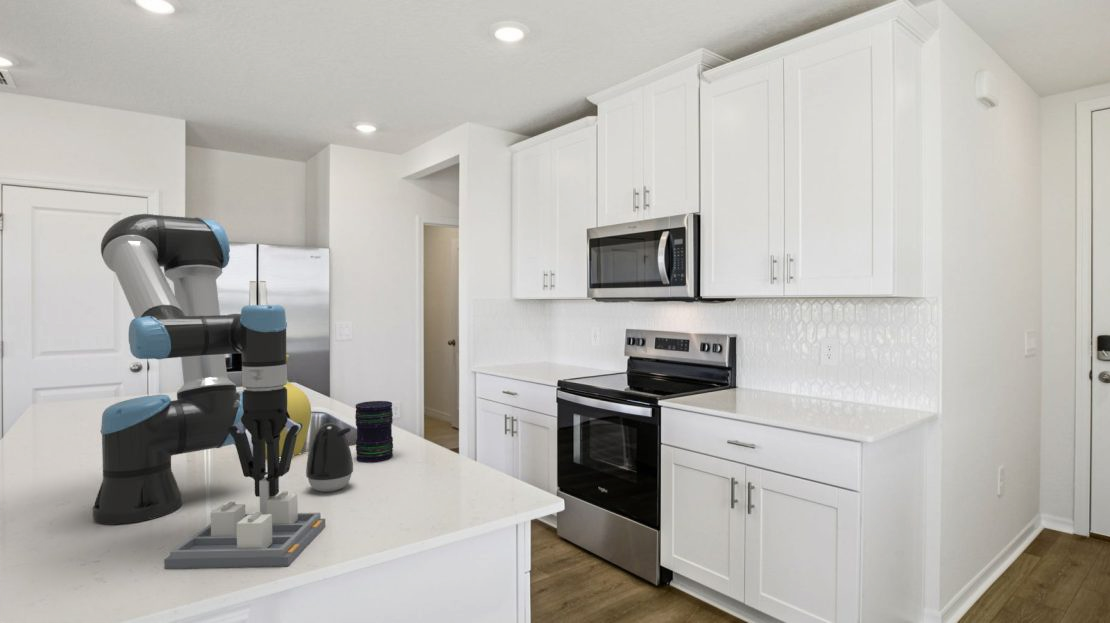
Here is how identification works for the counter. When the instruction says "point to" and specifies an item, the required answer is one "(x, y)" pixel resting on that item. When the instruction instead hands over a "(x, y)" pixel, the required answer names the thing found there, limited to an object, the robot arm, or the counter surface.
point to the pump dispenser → (329, 459)
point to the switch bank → (225, 553)
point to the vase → (296, 416)
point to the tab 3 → (283, 508)
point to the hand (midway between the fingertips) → (267, 513)
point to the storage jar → (374, 431)
